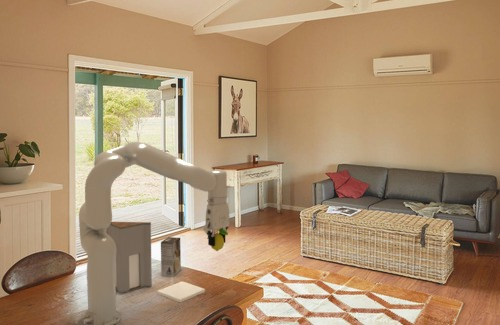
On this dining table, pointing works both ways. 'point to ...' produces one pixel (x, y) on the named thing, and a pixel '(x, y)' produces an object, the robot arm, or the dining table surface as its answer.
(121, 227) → the cabinet
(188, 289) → the plate
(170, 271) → the coffee box
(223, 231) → the lemon
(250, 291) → the dining table surface
